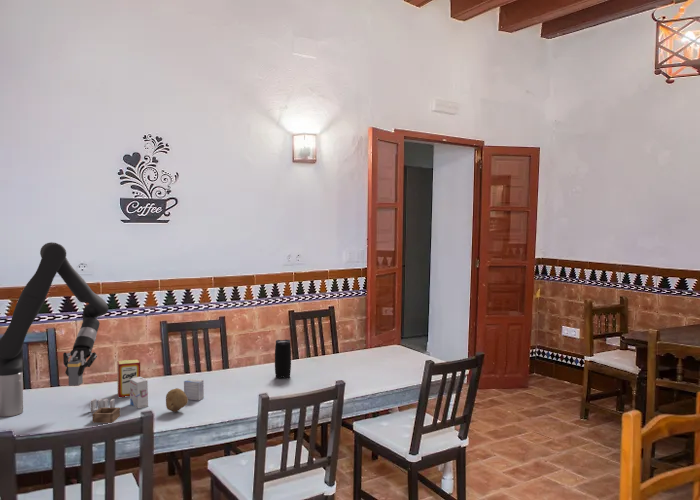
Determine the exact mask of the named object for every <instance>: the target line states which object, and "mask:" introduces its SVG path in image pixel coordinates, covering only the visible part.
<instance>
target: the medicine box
mask: <svg viewBox="0 0 700 500" xmlns="http://www.w3.org/2000/svg"><path fill="white" fill-rule="evenodd" d="M204 384H205V383H204V379H198V378H197V379H196V378H195V379H194V378H187V379H185V380H184V381H183V391H184V393H185V394H186V396H187V398H188V401H201V400H203V399H204V398H205V396H204V395H205V393H204V392H205V391H204V390H205V389H204Z"/></svg>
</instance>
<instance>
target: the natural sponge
mask: <svg viewBox="0 0 700 500" xmlns="http://www.w3.org/2000/svg"><path fill="white" fill-rule="evenodd" d="M188 401H189V400H188V398H187V396H186V394H185V393H184V390H183V389H180V388H178V387H177V388H176V387H175V388H172V389H170V390H169V391H168V392H167V393H166V395H165V406H166V407H165V408H166V409H167V410H168V411H171V412H172V413H176V412H179V411H180V410H181V409H182V408H184V407H186V406H187V405H188Z"/></svg>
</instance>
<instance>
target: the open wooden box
mask: <svg viewBox="0 0 700 500" xmlns="http://www.w3.org/2000/svg"><path fill="white" fill-rule="evenodd" d="M119 417H121V407H115V408H110V407H108V408H100V409H98V410H97V411H96V412H94V413H92V424H93V423H94V424H99V423H100V424H107V423H108V424H109V423H110V424H111V423H112V422H113V423H114V422H116V421H117V420H118V419H119ZM113 423H112V424H113Z"/></svg>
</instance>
